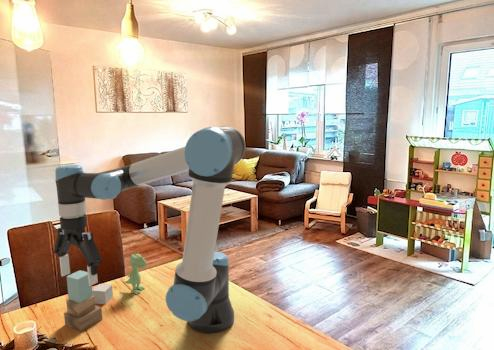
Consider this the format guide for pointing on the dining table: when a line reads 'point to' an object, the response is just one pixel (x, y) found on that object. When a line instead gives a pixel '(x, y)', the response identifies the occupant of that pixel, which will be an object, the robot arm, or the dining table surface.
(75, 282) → the teal block
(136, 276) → the toy
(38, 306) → the dining table surface
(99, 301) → the block
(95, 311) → the base block
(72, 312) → the top block
